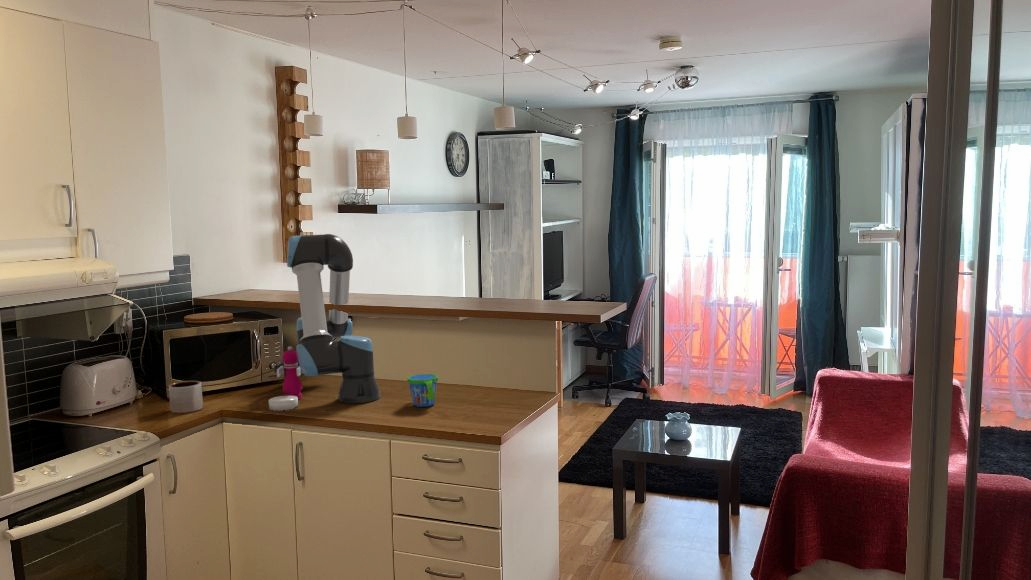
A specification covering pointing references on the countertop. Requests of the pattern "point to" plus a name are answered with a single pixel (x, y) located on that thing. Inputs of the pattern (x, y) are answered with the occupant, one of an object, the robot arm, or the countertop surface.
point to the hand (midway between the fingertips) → (287, 372)
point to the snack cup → (423, 389)
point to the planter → (185, 396)
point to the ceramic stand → (283, 403)
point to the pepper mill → (291, 374)
